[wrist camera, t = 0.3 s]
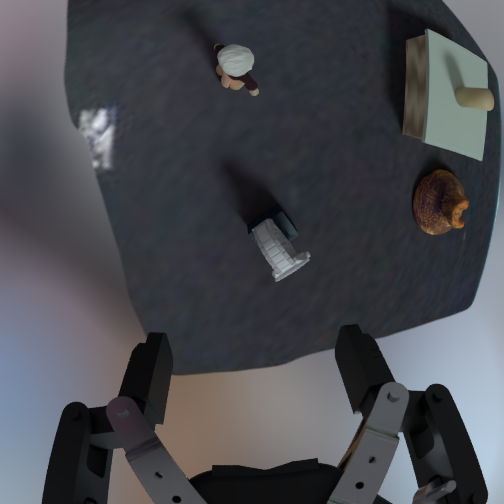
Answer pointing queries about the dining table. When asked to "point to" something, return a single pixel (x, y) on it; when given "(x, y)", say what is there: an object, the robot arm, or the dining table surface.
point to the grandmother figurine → (235, 67)
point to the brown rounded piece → (439, 202)
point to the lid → (455, 97)
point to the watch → (277, 242)
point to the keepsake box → (415, 87)
